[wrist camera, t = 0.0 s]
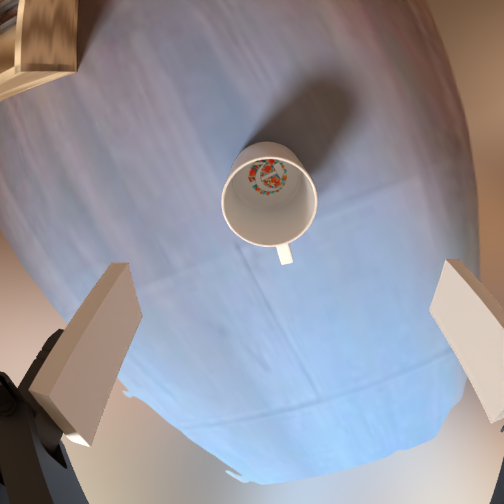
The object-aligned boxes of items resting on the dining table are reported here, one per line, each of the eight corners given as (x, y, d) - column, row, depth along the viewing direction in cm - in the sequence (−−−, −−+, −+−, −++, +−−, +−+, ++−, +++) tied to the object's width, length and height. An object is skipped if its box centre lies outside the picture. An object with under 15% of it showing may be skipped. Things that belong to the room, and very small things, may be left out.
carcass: (-9, 16, 22) (-56, 14, 12) (82, -32, 22) (36, -56, 11) (-12, 107, 31) (-63, 120, 20) (76, 72, 30) (20, 71, 20)
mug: (222, 151, 36) (208, 171, 26) (292, 132, 35) (306, 145, 25) (249, 236, 42) (246, 282, 32) (313, 220, 40) (330, 261, 31)
